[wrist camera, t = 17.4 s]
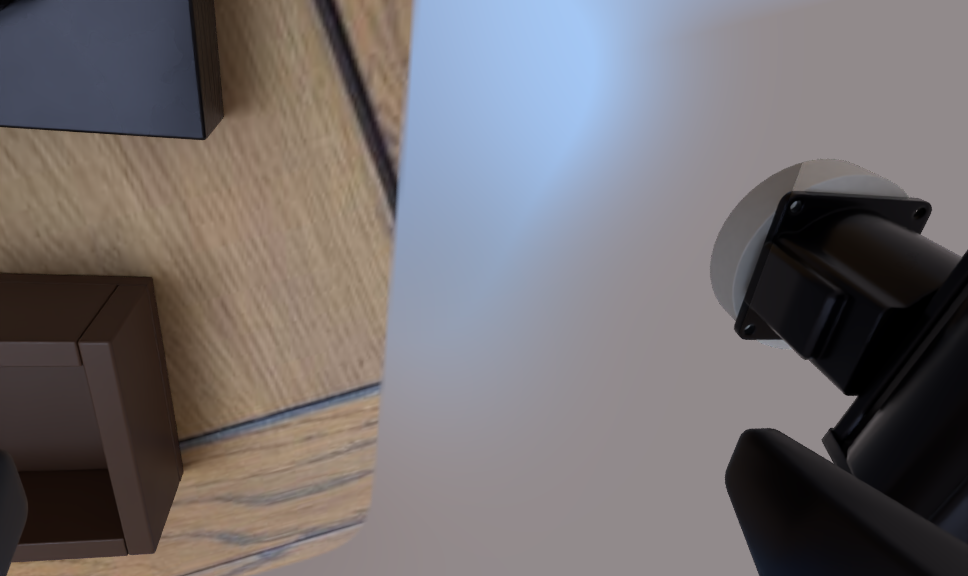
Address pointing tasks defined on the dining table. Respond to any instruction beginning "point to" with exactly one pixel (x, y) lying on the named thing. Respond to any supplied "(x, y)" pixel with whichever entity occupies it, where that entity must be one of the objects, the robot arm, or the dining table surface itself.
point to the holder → (87, 414)
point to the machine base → (110, 67)
